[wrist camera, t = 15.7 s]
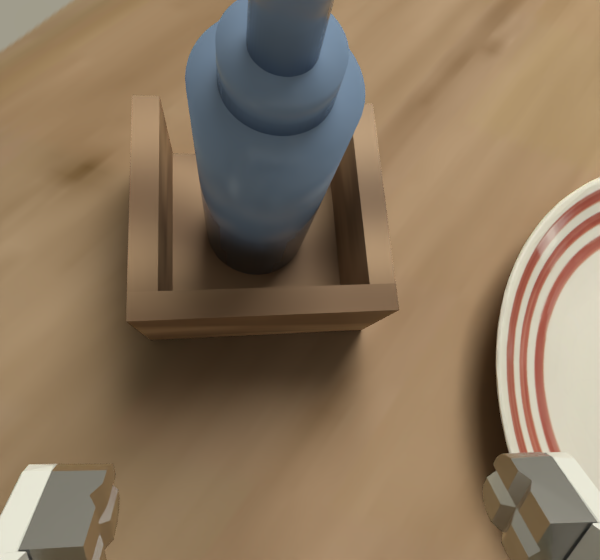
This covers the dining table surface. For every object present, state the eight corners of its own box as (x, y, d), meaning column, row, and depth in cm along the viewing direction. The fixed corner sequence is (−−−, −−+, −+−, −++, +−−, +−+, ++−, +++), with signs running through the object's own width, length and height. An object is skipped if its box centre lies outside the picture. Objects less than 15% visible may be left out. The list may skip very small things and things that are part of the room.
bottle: (322, 227, 25) (516, -128, 8) (259, 294, 24) (332, 31, 7) (253, 165, 26) (298, -299, 9) (185, 228, 24) (74, -185, 7)
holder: (153, 160, 26) (132, 94, 20) (344, 162, 28) (373, 103, 22) (150, 340, 23) (126, 321, 18) (361, 329, 25) (399, 309, 20)
